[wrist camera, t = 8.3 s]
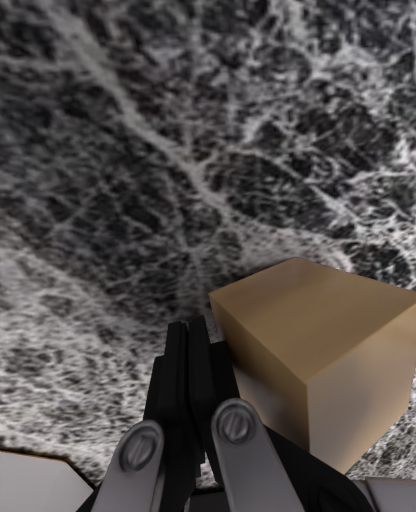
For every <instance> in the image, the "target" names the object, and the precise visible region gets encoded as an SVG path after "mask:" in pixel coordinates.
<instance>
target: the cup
mask: <svg viewBox="0 0 416 512" xmlns="http://www.w3.org/2000/svg"><path fill="white" fill-rule="evenodd" d="M93 491H94V490H93V489H92V488H91V487H90V486H89V485H88V484H87V483H86V482H85V481H84V480H83V479H82V478H81V477H80V476H79V475H78V474H77V473H76V472H75V471H74V470H73V469H72V468H71V467H70V466H69V465H68V464H67V463H66V462H65V461H64V460H59V459H53V458H46V457H40V456H34V455H28V454H21V453H15V452H9V451H2V450H0V512H76V511H77V510H78V508H79V507H80V506H81V505H82V504H83V503H84V501H85V500H86V499H87V498H88V497H89V496H90V495H91V493H92V492H93Z"/></svg>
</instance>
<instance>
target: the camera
mask: <svg viewBox="0 0 416 512" xmlns="http://www.w3.org/2000/svg"><path fill="white" fill-rule="evenodd" d="M189 512H231V511H230V507H229V503H228V499H227V495H226V491H224V492H217V493H209V494H202V495H194V496H190V509H189Z"/></svg>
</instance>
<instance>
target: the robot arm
mask: <svg viewBox="0 0 416 512" xmlns="http://www.w3.org/2000/svg"><path fill="white" fill-rule="evenodd" d="M205 451H206V454H207V457H208V460H209V463H210V466H211V469H212V472H213V475H214V478H215V481H216V482H217V483H218V484H219V485H220V486H221V487H222V488H223V489H224V490H225V491H226V495H227V499H228V503H229V507H230V511H231V512H416V480H412V479H396V478H381V477H365V480H351V479H348V478H347V477H346V476H345V475H343V474H342V473H340V472H339V471H337V470H336V469H334V468H332V467H331V466H329V465H328V464H326V463H324V462H323V461H321V460H320V459H318V458H317V457H315V456H313V455H312V454H310V453H309V452H307V451H305V450H304V449H302V448H301V447H299V446H298V445H296V444H294V443H293V442H291V441H290V440H288V439H286V438H285V437H283V436H282V435H280V434H279V433H277V432H275V431H274V430H272V429H271V428H269V427H267V426H266V425H264V424H263V423H262V421H261V418H260V416H259V414H258V412H257V411H256V409H255V408H254V406H253V405H251V404H250V403H249V402H248V401H246V400H243V399H241V397H240V393H239V389H238V385H237V381H236V378H235V374H234V370H233V366H232V362H231V358H230V354H229V351H228V347H227V343H226V340H224V341H220V342H216V343H211V342H210V338H209V334H208V330H207V326H206V322H205V318H204V315H201V316H197V317H193V318H192V321H190V322H188V328H187V325H186V323H182V322H181V321H176V322H172V323H169V325H168V331H167V338H166V345H165V352H164V355H162V356H157V357H156V358H155V360H154V365H153V370H152V375H151V380H150V385H149V390H148V395H147V400H146V405H145V411H144V416H143V421H140V422H138V423H137V424H135V425H133V426H132V427H131V428H130V429H129V430H128V431H127V432H126V433H125V434H124V435H123V437H122V438H121V439H120V441H119V443H118V445H117V447H116V449H115V452H114V454H113V457H112V459H111V462H110V465H109V467H108V470H107V472H106V475H105V477H104V480H103V481H102V482H101V483H100V484H99V485H98V486H97V488H96V489H95V490H94V491H93V492H92V493H91V495H90V496H89V497H88V498H87V499H86V500H85V501H84V503H83V504H82V505H81V506H80V507H79V508H78V510H77V511H76V512H189V509H190V495H191V494H192V492H193V490H194V489H195V487H196V478H198V477H201V469H200V464H203V463H205Z"/></svg>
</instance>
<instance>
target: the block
mask: <svg viewBox="0 0 416 512" xmlns="http://www.w3.org/2000/svg"><path fill="white" fill-rule="evenodd" d="M209 298H210V303H211V307H212V311H213V316H214V320H215V324H216V329H217V333H218V338H219V342H220V341H224V340H226V343H227V347H228V351H229V354H230V358H231V362H232V366H233V370H234V374H235V378H236V381H237V385H238V389H239V393H240V397H241V399H243V400H246V401H248V402H249V403H250V404H251V405H253V406H254V408H255V409H256V411H257V412H258V414H259V416H260V418H261V421H262V423H263V424H264V425H266V426H267V427H269V428H271V429H272V430H274V431H275V432H277V433H279V434H280V435H282V436H283V437H285V438H286V439H288V440H290V441H291V442H293V443H294V444H296V445H298V446H299V447H301V448H302V449H304V450H305V451H307V452H309V453H310V454H312V455H313V456H315V457H317V458H318V459H320V460H321V461H323V462H324V463H326V464H328V465H329V466H331V467H332V468H334V469H336V470H337V471H339V472H340V473H342V474H343V475H344V474H345V473H346V472H347V471H348V470H349V469H350V468H351V467H352V466H353V465H354V464H355V463H356V462H357V461H358V460H359V459H360V457H361V456H362V455H363V454H364V453H365V452H366V451H367V450H368V449H369V448H370V447H371V446H372V445H373V444H374V443H375V442H376V441H377V440H378V439H379V438H380V437H381V436H382V435H383V434H384V433H385V432H386V431H387V430H388V429H389V428H390V427H391V426H392V425H393V424H394V423H395V422H396V421H397V420H398V419H399V418H400V417H401V416H402V415H403V414H404V413H405V412H406V411H407V410H408V405H409V399H410V394H411V388H412V383H413V377H414V372H415V366H416V292H414V291H411V290H407V289H404V288H400V287H397V286H394V285H390V284H387V283H383V282H380V281H376V280H373V279H369V278H366V277H362V276H359V275H356V274H352V273H349V272H345V271H342V270H338V269H335V268H331V267H328V266H325V265H321V264H318V263H314V262H311V261H307V260H304V259H300V258H297V257H294V258H291V259H289V260H287V261H284V262H282V263H279V264H277V265H275V266H272V267H270V268H267V269H265V270H263V271H260V272H258V273H256V274H253V275H251V276H248V277H246V278H244V279H241V280H239V281H236V282H234V283H232V284H229V285H227V286H224V287H222V288H220V289H217V290H215V291H213V292H210V293H209Z"/></svg>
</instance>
